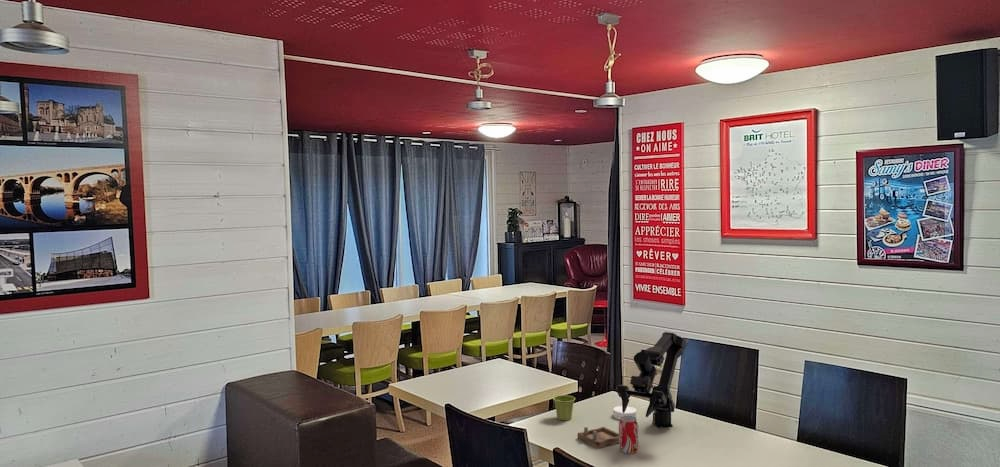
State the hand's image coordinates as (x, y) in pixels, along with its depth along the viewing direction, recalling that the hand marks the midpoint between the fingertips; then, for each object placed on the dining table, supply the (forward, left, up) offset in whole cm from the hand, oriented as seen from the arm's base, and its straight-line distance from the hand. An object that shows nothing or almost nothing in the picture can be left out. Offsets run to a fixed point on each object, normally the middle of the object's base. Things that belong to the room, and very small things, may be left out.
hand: (634, 414), depth 237 cm
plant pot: (+19, -35, -12) cm, 41 cm away
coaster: (-7, -33, -12) cm, 36 cm away
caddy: (+11, -8, -12) cm, 18 cm away
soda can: (+4, +4, -12) cm, 13 cm away
